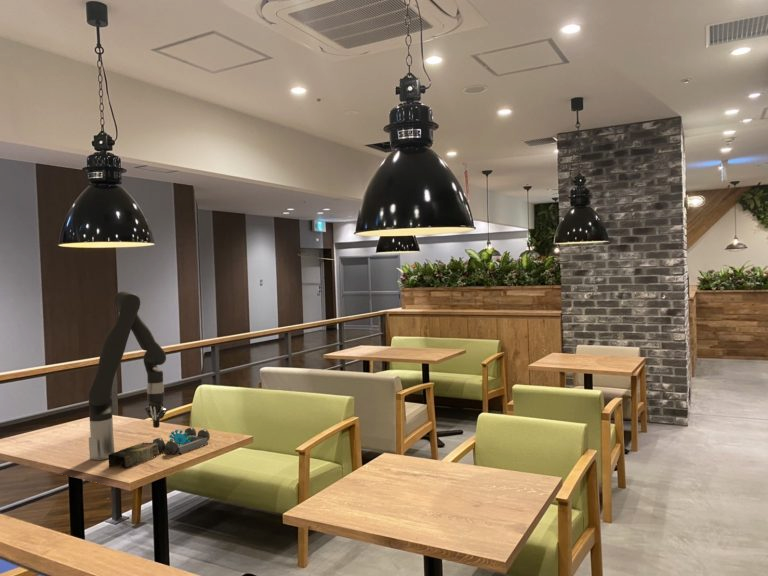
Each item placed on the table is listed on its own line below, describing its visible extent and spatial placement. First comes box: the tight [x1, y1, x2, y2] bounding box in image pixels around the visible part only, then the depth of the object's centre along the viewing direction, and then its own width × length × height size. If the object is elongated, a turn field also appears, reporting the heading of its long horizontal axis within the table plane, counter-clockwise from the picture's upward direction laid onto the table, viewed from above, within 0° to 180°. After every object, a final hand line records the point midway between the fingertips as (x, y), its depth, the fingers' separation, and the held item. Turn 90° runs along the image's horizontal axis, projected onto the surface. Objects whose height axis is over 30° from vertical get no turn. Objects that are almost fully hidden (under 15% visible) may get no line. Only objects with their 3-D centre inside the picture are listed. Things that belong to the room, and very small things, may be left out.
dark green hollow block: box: [108, 441, 160, 469], centre depth 253 cm, size 20×10×6 cm, turn 157°
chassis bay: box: [152, 426, 211, 455], centre depth 270 cm, size 20×16×6 cm
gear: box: [168, 429, 191, 446], centre depth 272 cm, size 11×6×10 cm
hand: (156, 427), depth 279 cm, fingers closed
